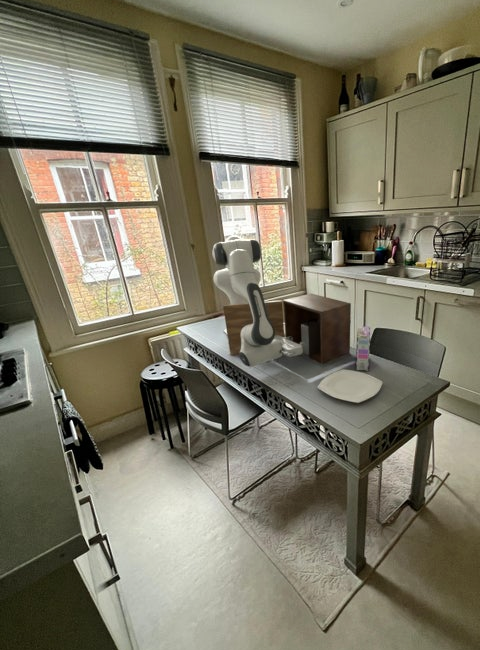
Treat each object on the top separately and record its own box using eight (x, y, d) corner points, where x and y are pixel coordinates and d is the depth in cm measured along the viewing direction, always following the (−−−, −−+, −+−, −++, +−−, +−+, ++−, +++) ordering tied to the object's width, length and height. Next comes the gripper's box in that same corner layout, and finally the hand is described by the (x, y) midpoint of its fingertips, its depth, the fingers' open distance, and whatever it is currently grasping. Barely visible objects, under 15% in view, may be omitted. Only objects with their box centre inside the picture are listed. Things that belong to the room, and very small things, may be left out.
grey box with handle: (302, 352, 158) (300, 320, 151) (315, 347, 163) (314, 316, 156) (309, 355, 154) (308, 323, 147) (322, 350, 159) (322, 318, 152)
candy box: (368, 371, 139) (370, 337, 133) (355, 370, 141) (356, 336, 134) (369, 358, 152) (370, 325, 145) (356, 357, 153) (357, 325, 146)
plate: (360, 411, 112) (360, 407, 111) (309, 391, 126) (309, 387, 125) (389, 385, 128) (390, 381, 127) (341, 369, 142) (342, 366, 141)
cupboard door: (231, 349, 168) (224, 302, 157) (284, 344, 171) (280, 297, 161) (230, 355, 162) (223, 305, 151) (285, 349, 165) (281, 300, 155)
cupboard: (322, 366, 146) (321, 311, 135) (286, 349, 166) (283, 300, 155) (349, 355, 156) (350, 303, 145) (312, 340, 176) (310, 293, 165)
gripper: (287, 349, 134) (312, 340, 142) (261, 336, 149) (285, 329, 156) (288, 362, 137) (312, 353, 144) (262, 348, 151) (286, 341, 159)
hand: (298, 340), depth 150 cm, fingers open, 8 cm apart
